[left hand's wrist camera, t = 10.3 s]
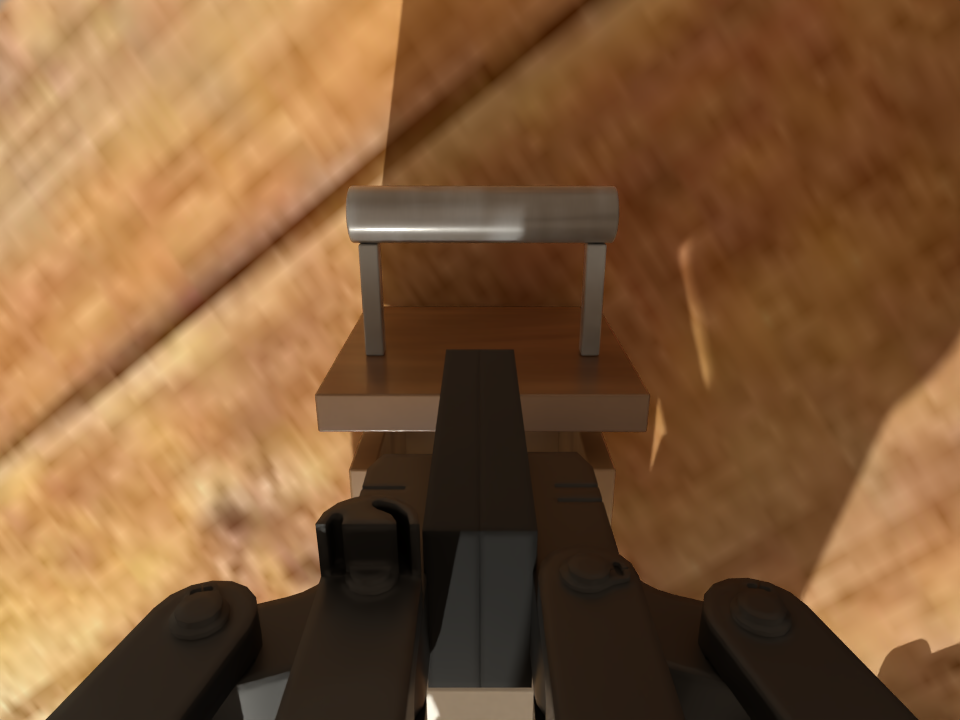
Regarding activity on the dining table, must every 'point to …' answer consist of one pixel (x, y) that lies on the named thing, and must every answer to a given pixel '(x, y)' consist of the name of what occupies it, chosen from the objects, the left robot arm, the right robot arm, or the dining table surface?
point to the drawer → (483, 328)
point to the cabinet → (480, 703)
